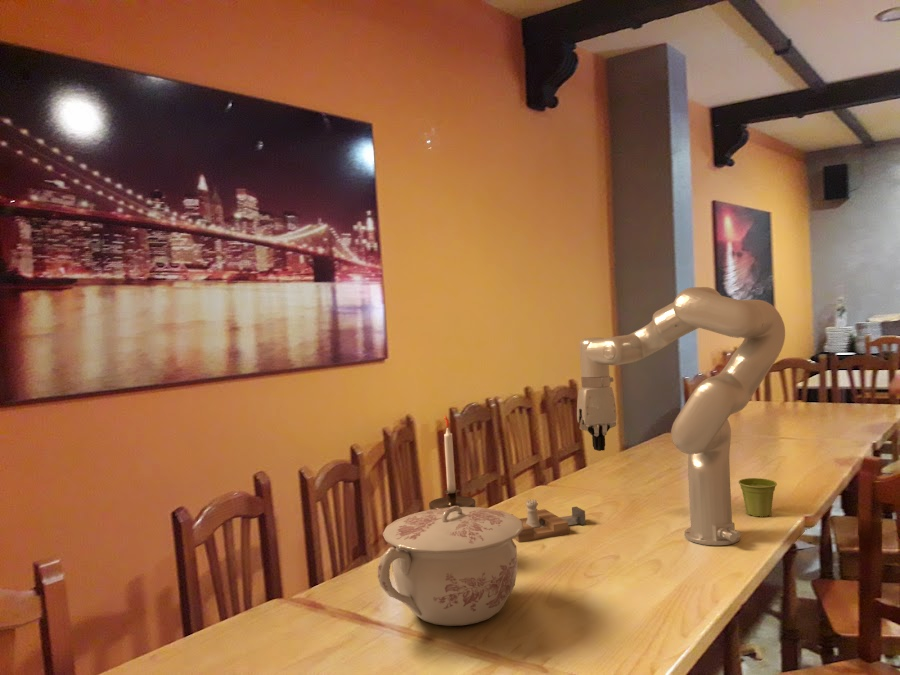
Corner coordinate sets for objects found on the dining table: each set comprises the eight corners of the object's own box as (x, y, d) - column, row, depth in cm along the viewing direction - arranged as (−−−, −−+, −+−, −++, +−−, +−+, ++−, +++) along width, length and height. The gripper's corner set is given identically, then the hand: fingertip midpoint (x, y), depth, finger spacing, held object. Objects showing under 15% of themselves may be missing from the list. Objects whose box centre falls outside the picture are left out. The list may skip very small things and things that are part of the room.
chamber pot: (518, 579, 149) (513, 484, 148) (539, 638, 122) (532, 522, 121) (388, 589, 148) (383, 493, 148) (380, 650, 121) (372, 533, 120)
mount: (568, 533, 178) (568, 522, 178) (518, 542, 174) (518, 530, 173) (545, 519, 191) (544, 509, 191) (498, 527, 187) (497, 516, 187)
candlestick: (426, 560, 164) (417, 414, 163) (468, 552, 168) (460, 409, 167) (442, 575, 154) (432, 419, 153) (486, 566, 158) (477, 414, 157)
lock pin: (585, 524, 184) (584, 510, 184) (546, 530, 181) (546, 516, 181) (577, 519, 189) (576, 506, 189) (539, 525, 185) (538, 512, 185)
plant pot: (774, 509, 188) (773, 478, 188) (781, 519, 179) (779, 486, 179) (737, 509, 191) (736, 477, 190) (742, 519, 181) (741, 486, 181)
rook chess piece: (530, 527, 185) (529, 497, 185) (545, 529, 182) (543, 499, 182) (521, 531, 182) (519, 501, 182) (535, 534, 179) (534, 503, 179)
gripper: (612, 379, 193) (616, 444, 194) (564, 384, 189) (568, 450, 189) (627, 381, 186) (630, 449, 187) (577, 386, 182) (581, 455, 182)
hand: (599, 449), depth 188 cm, fingers closed
